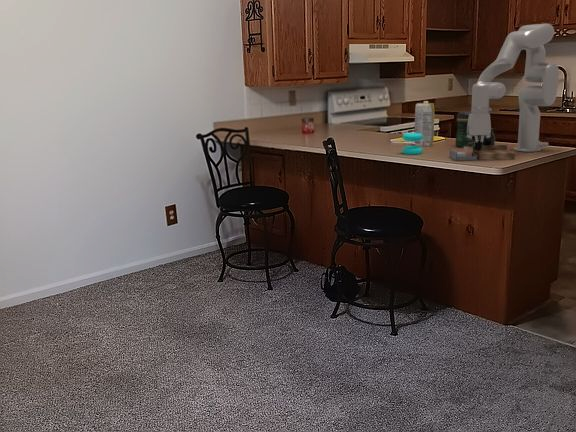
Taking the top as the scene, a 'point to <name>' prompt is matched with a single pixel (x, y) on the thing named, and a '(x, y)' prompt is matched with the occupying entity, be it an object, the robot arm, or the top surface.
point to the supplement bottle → (489, 139)
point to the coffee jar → (463, 130)
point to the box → (466, 158)
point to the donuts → (412, 137)
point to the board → (494, 153)
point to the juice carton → (424, 123)
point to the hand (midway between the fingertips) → (478, 150)
